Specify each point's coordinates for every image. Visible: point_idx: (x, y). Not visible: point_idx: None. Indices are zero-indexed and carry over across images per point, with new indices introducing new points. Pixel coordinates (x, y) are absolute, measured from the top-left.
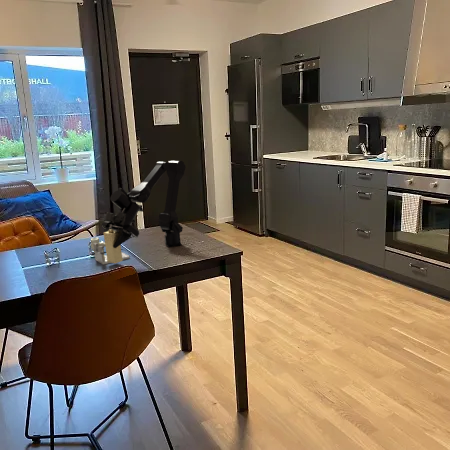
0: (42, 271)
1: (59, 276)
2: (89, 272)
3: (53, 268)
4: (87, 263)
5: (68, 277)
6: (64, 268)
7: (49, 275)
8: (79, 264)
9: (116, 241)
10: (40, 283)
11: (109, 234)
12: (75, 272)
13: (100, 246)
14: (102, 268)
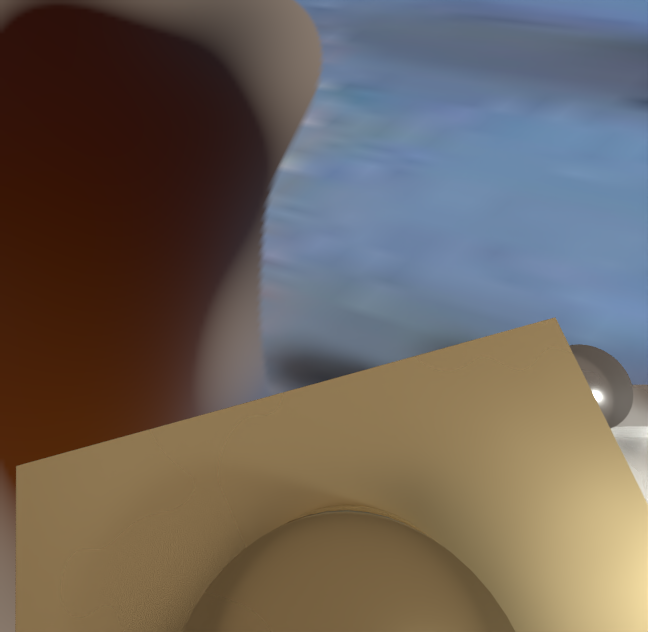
0: (606, 9)
1: (393, 68)
2: (316, 242)
3: (639, 70)
4: (614, 306)
5: (321, 105)
6: (581, 126)
7: (468, 28)
8: (628, 241)
9: None
10: None
11: (141, 439)
12: (404, 164)
13: (605, 383)
14: (340, 362)
